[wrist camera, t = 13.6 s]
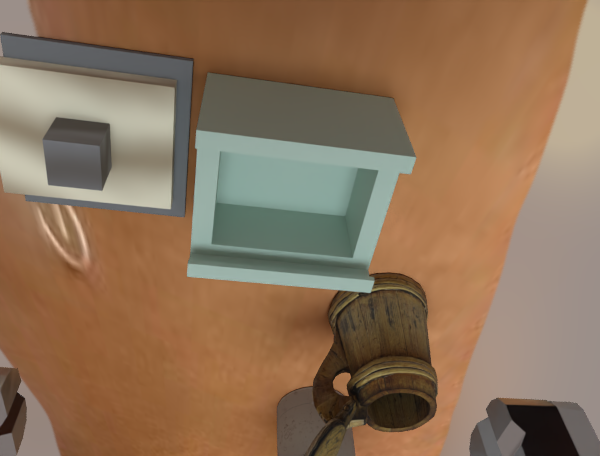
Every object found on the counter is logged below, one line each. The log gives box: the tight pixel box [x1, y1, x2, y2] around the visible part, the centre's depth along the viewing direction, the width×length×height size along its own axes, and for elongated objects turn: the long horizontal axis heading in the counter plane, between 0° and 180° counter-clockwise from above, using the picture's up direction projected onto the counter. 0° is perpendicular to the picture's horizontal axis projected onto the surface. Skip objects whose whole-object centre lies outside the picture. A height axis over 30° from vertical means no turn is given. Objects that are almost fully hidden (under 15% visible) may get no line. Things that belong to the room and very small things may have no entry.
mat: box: [0, 32, 193, 217], centre depth 41 cm, size 13×12×1 cm
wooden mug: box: [304, 273, 438, 456], centre depth 47 cm, size 9×14×18 cm, turn 90°
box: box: [187, 73, 416, 293], centre depth 40 cm, size 11×13×8 cm
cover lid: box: [0, 57, 177, 209], centre depth 39 cm, size 10×12×4 cm
